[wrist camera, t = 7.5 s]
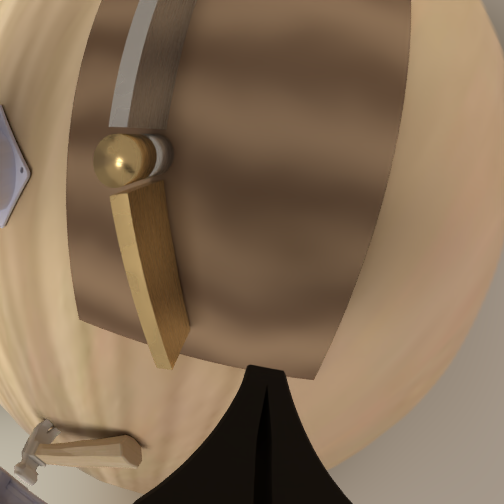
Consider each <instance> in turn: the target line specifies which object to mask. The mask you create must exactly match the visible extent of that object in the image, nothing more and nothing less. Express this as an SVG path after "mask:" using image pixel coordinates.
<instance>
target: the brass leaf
mask: <svg viewBox="0 0 504 504" xmlns="http://www.w3.org/2000/svg"><path fill="white" fill-rule="evenodd" d="M156 160H157V153H156V148H155V146H154V144H153V142H152V141H151V140H150V139H149V138H148V137H147V136H145V135H142V134H111V135H108V136H106V137H105V138H104V139H102V140H101V141H100V143H99V144H98V146H97V147H96V150H95V152H94V157H93V167H94V171H95V174H96V176H97V178H98V179H99V181H100V182H101V183H102V184H104V185H105V186H107V187H110V188H119V187H122V186H125V185H128V184H131V183H134V182H137V181H140V180H143V179H145V178H146V177H148V176H149V175H150V174H151V173H152V171H153V169H154V167H155V165H156ZM110 202H111V207H112V213H113V218H114V223H115V228H116V233H117V238H118V242H119V247H120V251H121V255H122V260H123V264H124V268H125V271H126V275H127V279H128V283H129V286H130V290H131V293H132V297H133V300H134V304H135V307H136V310H137V313H138V316H139V320H140V323H141V326H142V329H143V332H144V334H145V337H146V340H147V343H148V346H149V349H150V351H151V354H152V357H153V359H154V362H155V364H156V367H157V368H161V369H169V370H172V369H173V367H174V365H175V362H176V360H177V358H178V356H179V354H180V351H181V349H182V347H183V345H184V343H185V340H186V338H187V336H188V334H189V332H190V330H191V329H190V325H189V321H188V317H187V312H186V308H185V303H184V299H183V294H182V289H181V284H180V279H179V274H178V269H177V264H176V258H175V253H174V247H173V242H172V236H171V230H170V223H169V217H168V210H167V203H166V196H165V188H164V180H160V181H152V182H147V183H144V184H141V185H138V186H135V187H132V188H130V189H127V190H124V191H121V192H119V193H116V194H113V195H111V196H110Z"/></svg>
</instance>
